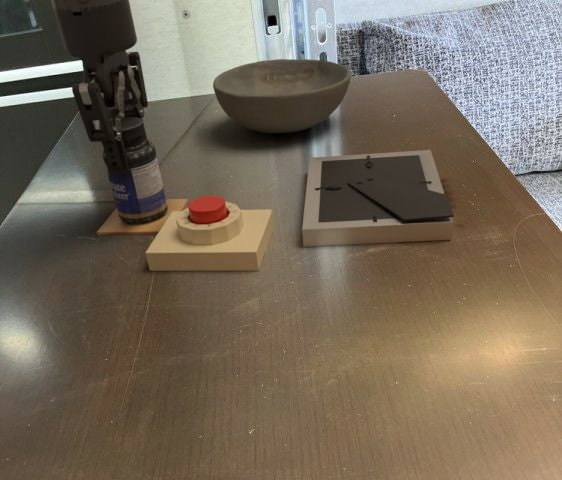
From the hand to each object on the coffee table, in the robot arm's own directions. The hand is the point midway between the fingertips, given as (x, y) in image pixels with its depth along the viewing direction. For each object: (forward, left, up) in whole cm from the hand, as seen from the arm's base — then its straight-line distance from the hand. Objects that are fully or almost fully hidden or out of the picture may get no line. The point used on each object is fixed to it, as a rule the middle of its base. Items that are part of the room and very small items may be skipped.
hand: (130, 161), depth 73 cm
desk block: (+11, -8, -7) cm, 15 cm away
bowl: (+13, +32, -7) cm, 35 cm away
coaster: (0, 0, -7) cm, 7 cm away
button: (+11, -8, -4) cm, 14 cm away
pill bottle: (0, 0, -7) cm, 7 cm away
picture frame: (+28, +3, -7) cm, 29 cm away
